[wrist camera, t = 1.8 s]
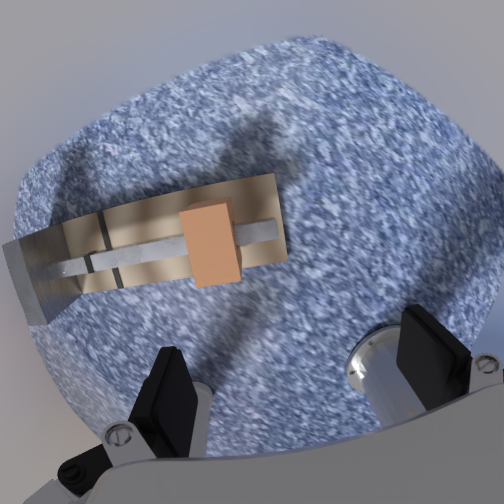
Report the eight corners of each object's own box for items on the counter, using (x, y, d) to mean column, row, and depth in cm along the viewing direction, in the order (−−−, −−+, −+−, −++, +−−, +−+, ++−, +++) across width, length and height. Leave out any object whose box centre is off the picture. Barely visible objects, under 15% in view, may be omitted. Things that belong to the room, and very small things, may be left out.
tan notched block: (230, 196, 29) (226, 203, 23) (242, 257, 31) (241, 280, 25) (193, 203, 30) (178, 212, 23) (206, 263, 31) (196, 287, 25)
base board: (273, 173, 31) (274, 173, 30) (286, 258, 34) (288, 261, 32) (48, 226, 32) (43, 228, 31) (68, 293, 35) (64, 296, 33)
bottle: (175, 381, 39) (136, 528, 15) (208, 378, 38) (185, 536, 14) (186, 404, 40) (159, 541, 16) (217, 401, 40) (204, 547, 16)
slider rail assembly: (264, 174, 31) (272, 175, 21) (278, 259, 34) (290, 294, 24) (48, 226, 32) (1, 245, 22) (68, 293, 35) (30, 325, 25)
